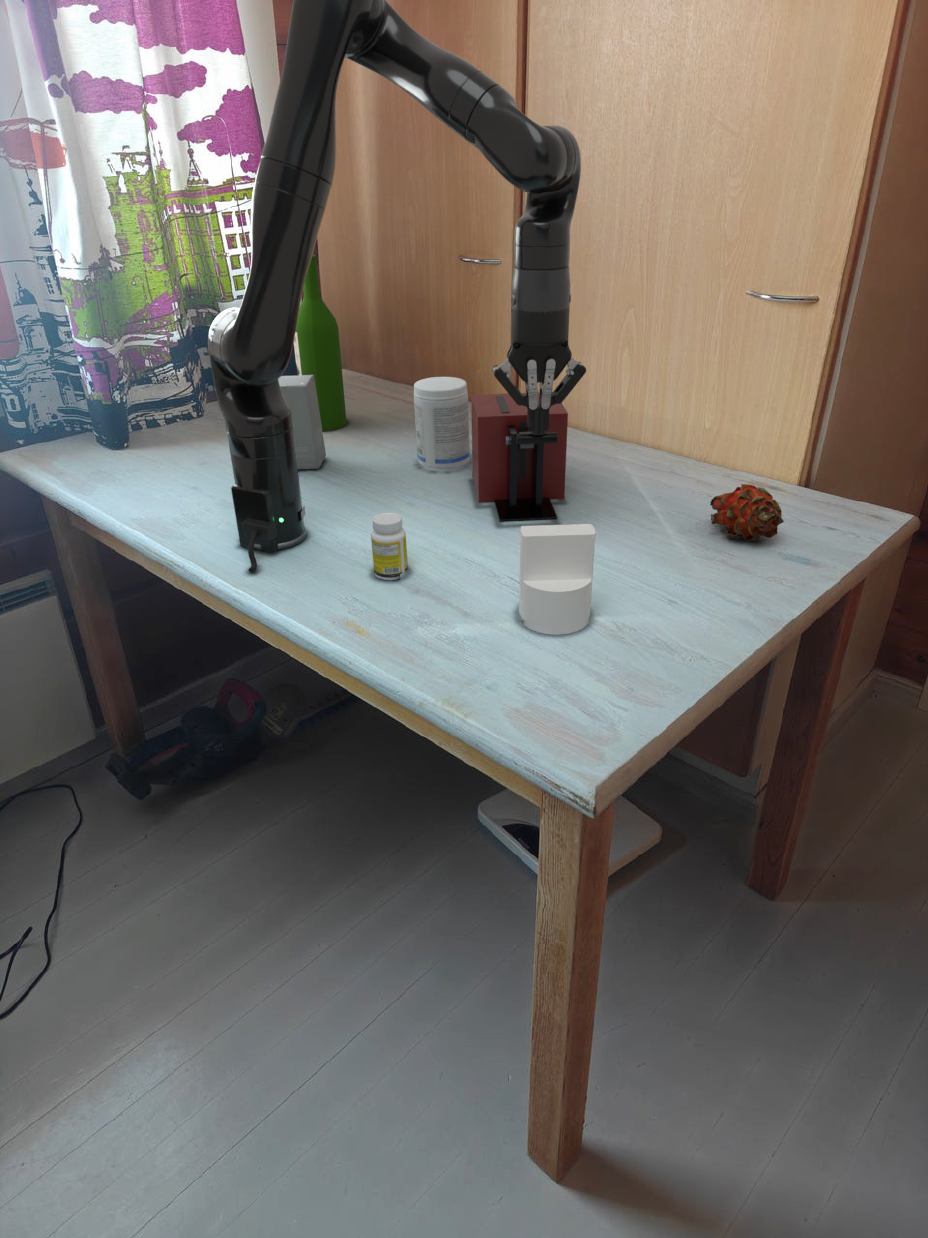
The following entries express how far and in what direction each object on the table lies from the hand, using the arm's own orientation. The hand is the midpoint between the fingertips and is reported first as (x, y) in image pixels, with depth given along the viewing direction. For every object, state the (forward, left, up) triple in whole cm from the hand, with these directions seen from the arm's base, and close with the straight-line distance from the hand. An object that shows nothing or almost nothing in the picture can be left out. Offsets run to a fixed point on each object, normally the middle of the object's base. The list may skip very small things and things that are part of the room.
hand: (537, 433), depth 122 cm
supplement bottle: (-17, +15, -17) cm, 28 cm away
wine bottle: (+36, +61, -17) cm, 73 cm away
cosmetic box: (+14, +52, -17) cm, 56 cm away
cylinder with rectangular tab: (-19, -10, -17) cm, 28 cm away
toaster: (+18, +10, -17) cm, 26 cm away
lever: (+5, +3, -4) cm, 7 cm away
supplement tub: (+25, +28, -17) cm, 41 cm away
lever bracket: (+10, +6, -17) cm, 20 cm away
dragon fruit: (+15, -27, -17) cm, 35 cm away
